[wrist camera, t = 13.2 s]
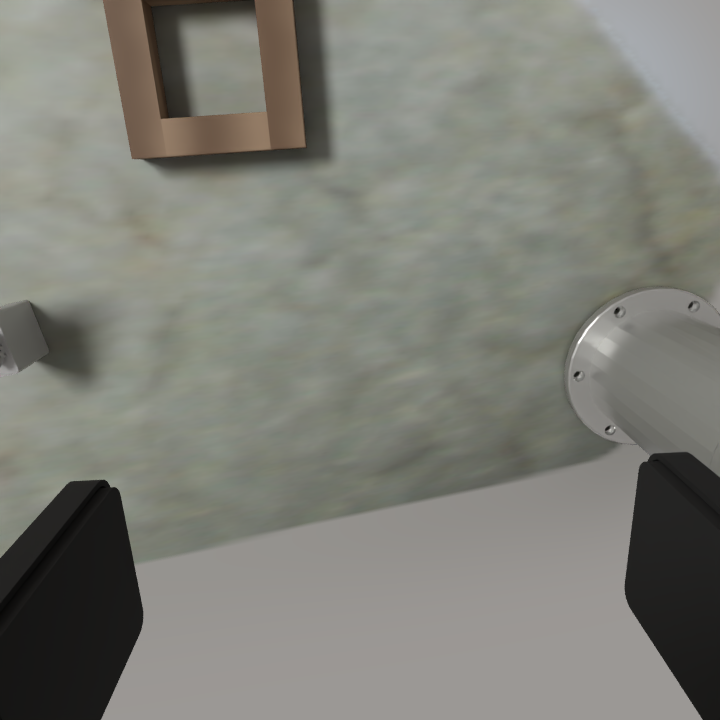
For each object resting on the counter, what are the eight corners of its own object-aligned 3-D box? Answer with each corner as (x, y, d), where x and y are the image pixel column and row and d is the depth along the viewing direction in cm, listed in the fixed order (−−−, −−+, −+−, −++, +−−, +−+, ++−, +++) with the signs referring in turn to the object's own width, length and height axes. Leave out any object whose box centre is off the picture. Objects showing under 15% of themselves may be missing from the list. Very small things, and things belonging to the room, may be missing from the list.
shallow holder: (289, -45, 35) (286, -57, 33) (306, 147, 38) (305, 146, 36) (107, -34, 35) (94, -45, 33) (142, 159, 38) (131, 158, 36)
